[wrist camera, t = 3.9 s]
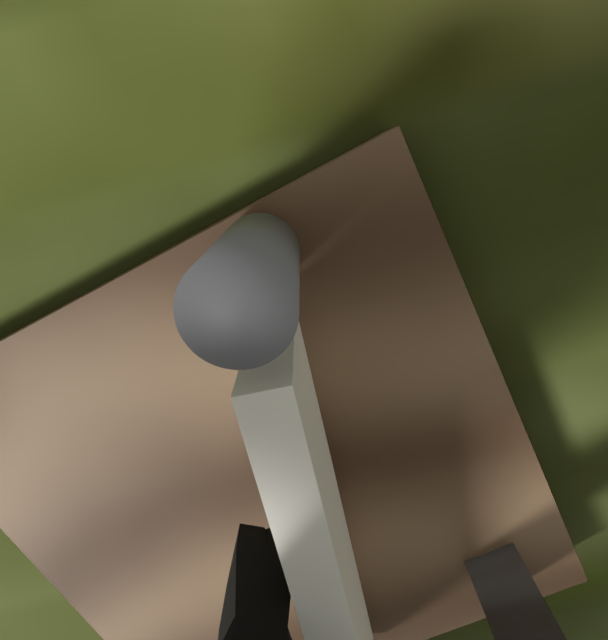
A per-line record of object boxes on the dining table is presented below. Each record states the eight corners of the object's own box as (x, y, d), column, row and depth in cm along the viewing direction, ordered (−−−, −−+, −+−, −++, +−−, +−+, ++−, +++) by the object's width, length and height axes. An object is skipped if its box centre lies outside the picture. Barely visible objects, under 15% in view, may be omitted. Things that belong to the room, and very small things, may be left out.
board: (567, 550, 16) (673, 707, 11) (192, 691, 18) (156, 869, 14) (389, 128, 11) (447, 112, 7) (-81, 383, 14) (-269, 496, 9)
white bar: (212, 221, 11) (156, 266, 6) (290, 204, 11) (283, 238, 6) (334, 657, 15) (347, 844, 11) (388, 649, 15) (422, 834, 11)
